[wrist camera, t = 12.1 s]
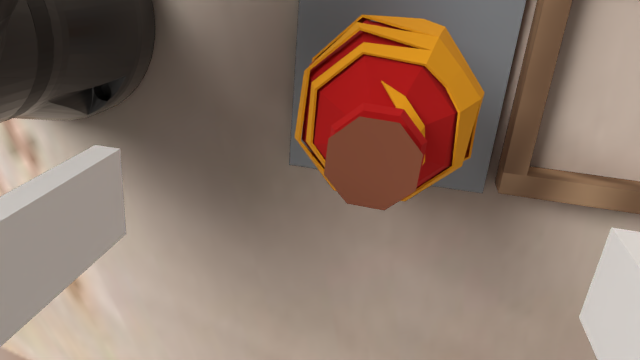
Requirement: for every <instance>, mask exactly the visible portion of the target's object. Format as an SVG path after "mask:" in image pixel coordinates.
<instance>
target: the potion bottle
mask: <svg viewBox="0 0 640 360" xmlns="http://www.w3.org/2000/svg"><path fill="white" fill-rule="evenodd" d="M370 20H374V21H377V22H374V21H370ZM484 93H485V92H484V91H483V89H482V87H481V86H480V84H479V82H478V80H477V79H476V77H475V75H474V74H473V72H472V70H471V69H470V67H469V65H468V63H467V62H466V60H465V58H464V57H463V55H462V53H461V52H460V50H459V48H458V47H457V45H456V44H455V42H454V40H453V39H452V37H451V35H450V34H449V32H448V30H447V29H446V27H445V26H442V25H439V24H437V23H434V22H431V21H428V20H426V19H421V18H407V17H392V16H377V15H361V16H360V17H359V18H357V19H356V20H355V21H354V22H353V23H352V24H351V25H349V26H348V27H347V28H346V29H345V30H344V31H343V32H342V33H340V34H339V35H338V36H337V37H336V38H335V39H334V40H332V41H331V42H330V43H329V44H328V45H327V46H326V47H325V48H323V49H322V50H321V51H320V52H319V53H318V54H317V55H315V56H314V57H313V58H312V63H311V64H310V65H309V67H308V68H307V69H306V70H305V71H304V75H303V82H302V89H301V96H300V103H299V109H298V116H297V123H296V130H295V139H296V140H297V141H298V143H299V144H300V146H301V147H302V148H303V150H304V151H305V152H306V154H307V155H308V156H309V158H310V159H311V160H312V162H313V163H314V164H315V166H316V167H317V168H318V170H319V171H320V173H321V174H322V175H323V177H324V178H325V179H326V181H327V182H328V183H329V185H330V186H331V187H332V189H333V190H335V191H337V192H338V193H339V194H340V195H341V197H342V198H343V199H344V200H345V202H346V203H347V204H353V205H358V206H364V207H369V208H374V209H380V210H385V209H387V208H389V207H390V206H392V205H394V204H395V203H397V202H398V201H406V200H408V199H410V198H411V197H413V196H415V195H416V194H418V193H419V192H421V191H423V190H424V189H426V188H427V187H429V186H431V185H432V184H434V183H436V182H437V181H439V180H440V179H442V178H444V177H445V176H447V175H449V174H450V173H452V172H453V171H455V170H457V169H458V168H460V167H462V165H463V161H465V160H467V159H469V158H471V153H472V147H473V142H474V136H475V130H476V125H477V119H478V115H479V111H480V107H481V104H482V100H483V97H484ZM302 128H303V131H302ZM301 136H302V140H303V141H304V142H305V144H306V145H307V146H308V148H309V149H310V150H311V151H312V152H311V151H310V150H309V149H308V148H307V147H306V146H305V145H304V144H303V143H302V141H301Z"/></svg>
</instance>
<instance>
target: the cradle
mask: <svg viewBox="0 0 640 360" xmlns="http://www.w3.org/2000/svg"><path fill="white" fill-rule="evenodd" d="M571 4H572V0H537V4H536V8H535V12H534V17H533V21H532V25H531V29H530V34H529V38H528V42H527V47H526V51H525V55H524V59H523V64H522V68H521V72H520V76H519V81H518V85H517V89H516V94H515V98H514V102H513V106H512V111H511V115H510V119H509V124H508V128H507V132H506V136H505V141H504V145H503V149H502V153H501V158H500V162H499V166H498V171H497V175H496V179H495V184H496V187H497V190H498V193H500V194H507V195H514V196H521V197H528V198H534V199H541V200H548V201H555V202H561V203H568V204H575V205H582V206H589V207H595V208H602V209H609V210H616V211H623V212H629V213H636V214H640V182H639V181H632V180H624V179H617V178H610V177H603V176H596V175H589V174H581V173H574V172H567V171H560V170H553V169H545V168H538V167H531V166H530V162H531V158H532V154H533V150H534V146H535V143H536V139H537V135H538V131H539V127H540V123H541V120H542V116H543V112H544V108H545V104H546V100H547V96H548V93H549V89H550V85H551V81H552V77H553V73H554V69H555V66H556V62H557V58H558V54H559V50H560V46H561V42H562V39H563V35H564V31H565V27H566V23H567V19H568V15H569V12H570V8H571Z"/></svg>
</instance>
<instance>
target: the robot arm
mask: <svg viewBox="0 0 640 360" xmlns="http://www.w3.org/2000/svg"><path fill="white" fill-rule="evenodd" d="M154 37H155V21H154V11H153V5H152V1H151V0H0V123H1V122H3V121H6V120H9V119H12V118H21V119H41V120H63V121H65V120H76V119H82V118H86V117H89V116H92V115H95V114H97V113H99V112H102V111H104V110H106V109H109V108H111V107H113V106H115V105H117V104H118V103H120V102H121V101H123V100H124V99H125V98H127V97H128V96H129V95H130V94H131V93H132V92H133V91H134V90H135V88H136V87H137V86H138V85H139V83H140V82H141V80H142V78H143V77H144V75H145V73H146V70H147V68H148V66H149V63H150V60H151V56H152V52H153V46H154ZM125 234H126V224H125V209H124V194H123V180H122V165H121V150H120V149H119V148H113V147H106V146H100V145H94V146H92V147H90V148H89V149H87V150H85V151H83V152H81V153H79V154H78V155H76V156H74V157H72V158H70V159H68V160H67V161H65V162H63V163H61V164H59V165H57V166H56V167H54V168H52V169H50V170H48V171H46V172H45V173H43V174H41V175H39V176H37V177H35V178H34V179H32V180H30V181H28V182H26V183H24V184H23V185H21V186H19V187H17V188H15V189H13V190H12V191H10V192H8V193H6V194H4V195H2V196H1V197H0V347H1V346H2V345H3V344H4V343H5V342H6V341H7V340H9V339H10V338H11V337H12V336H13V335H14V334H15V333H16V332H17V331H19V330H20V329H21V328H22V327H23V326H24V325H25V324H26V323H27V322H29V321H30V320H31V319H32V318H33V317H34V316H35V315H36V314H38V313H39V312H40V311H41V310H42V309H43V308H44V307H45V306H46V305H48V304H49V303H50V302H51V301H52V300H53V299H54V298H55V297H56V296H58V295H59V294H60V293H61V292H62V291H63V290H64V289H65V288H66V287H68V286H69V285H70V284H71V283H72V282H73V281H74V280H75V279H76V278H78V277H79V276H80V275H81V274H82V273H83V272H84V271H85V270H87V269H88V268H89V267H90V266H91V265H92V264H93V263H94V262H95V261H97V260H98V259H99V258H100V257H101V256H102V255H103V254H104V253H105V252H107V251H108V250H109V249H110V248H111V247H112V246H113V245H114V244H115V243H117V242H118V241H119V240H120V239H121V238H122V237H123V236H124V235H125ZM579 318H580V321H581V323H582V325H583V328H584V330H585V332H586V335H587V337H588V339H589V342H590V344H591V346H592V349H593V351H594V353H595V355H596V358H597V360H640V232H637V231H631V230H625V229H618V228H612V227H611V230H610V232H609V235H608V238H607V241H606V243H605V246H604V249H603V252H602V255H601V257H600V260H599V263H598V266H597V268H596V271H595V274H594V277H593V280H592V282H591V285H590V288H589V291H588V293H587V296H586V299H585V302H584V305H583V307H582V310H581V313H580V316H579Z"/></svg>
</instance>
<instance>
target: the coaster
mask: <svg viewBox="0 0 640 360" xmlns="http://www.w3.org/2000/svg"><path fill="white" fill-rule="evenodd" d="M525 3H526V0H299V12H298V29H297V45H296V61H295V78H294V94H293V110H292V127H291V143H290V160H289V165H295V166H302V167H308V168H315V169H318V168H317V167H316V166H315V164H314V163H313V162H312V160H311V159H310V158H309V156H308V155H307V154H306V152H305V151H304V150H303V148H302V147H301V146H300V144H299V143H298V141H297V140H296V139H295V130H296V123H297V116H298V109H299V103H300V96H301V89H302V82H303V75H304V71H305V70H306V69H307V68H308V67H309V65H310V64H311V63H312V58H313V57H314V56H315V55H317V54H318V53H319V52H320V51H321V50H322V49H323V48H325V47H326V46H327V45H328V44H329V43H330V42H331V41H332V40H334V39H335V38H336V37H337V36H338V35H339V34H340V33H342V32H343V31H344V30H345V29H346V28H347V27H348V26H349V25H351V24H352V23H353V22H354V21H355V20H356V19H357V18H359V17H360V16H361V15H377V16H392V17H407V18H421V19H426V20H428V21H431V22H434V23H437V24H439V25H442V26H445V27H446V29H447V30H448V32H449V34H450V35H451V37H452V39H453V40H454V42H455V44H456V45H457V47H458V48H459V50H460V52H461V53H462V55H463V57H464V58H465V60H466V62H467V63H468V65H469V67H470V69H471V70H472V72H473V74H474V75H475V77H476V79H477V80H478V82H479V84H480V86H481V87H482V89H483V91H484V92H485V93H484V97H483V100H482V104H481V107H480V111H479V115H478V119H477V125H476V130H475V136H474V142H473V147H472V153H471V158H469V159H467V160H465V161H463V165H462V167H460V168H458V169H457V170H455V171H453V172H452V173H450V174H449V175H447V176H445V177H444V178H442V179H440V180H439V181H437V182H436V183H434V184H432V185H431V186H437V187H443V188H450V189H457V190H464V191H470V192H477V193H483V189H484V185H485V180H486V176H487V172H488V167H489V163H490V158H491V154H492V149H493V145H494V141H495V136H496V132H497V127H498V123H499V118H500V114H501V110H502V105H503V101H504V96H505V92H506V87H507V83H508V79H509V74H510V70H511V65H512V61H513V56H514V52H515V48H516V43H517V39H518V34H519V30H520V25H521V21H522V17H523V12H524V8H525ZM370 21H374V20H370ZM374 22H377V21H374ZM302 131H303V128H302ZM301 141H302V143H303V144H304V145H305V146H306V147H307V148H308V146H307V145H306V144H305V142H304V141H303V140H302V136H301ZM308 149H309V148H308ZM309 150H310V149H309ZM310 151H311V150H310ZM311 152H312V151H311Z"/></svg>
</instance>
